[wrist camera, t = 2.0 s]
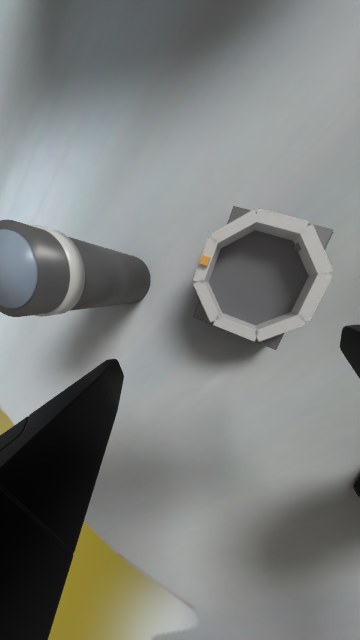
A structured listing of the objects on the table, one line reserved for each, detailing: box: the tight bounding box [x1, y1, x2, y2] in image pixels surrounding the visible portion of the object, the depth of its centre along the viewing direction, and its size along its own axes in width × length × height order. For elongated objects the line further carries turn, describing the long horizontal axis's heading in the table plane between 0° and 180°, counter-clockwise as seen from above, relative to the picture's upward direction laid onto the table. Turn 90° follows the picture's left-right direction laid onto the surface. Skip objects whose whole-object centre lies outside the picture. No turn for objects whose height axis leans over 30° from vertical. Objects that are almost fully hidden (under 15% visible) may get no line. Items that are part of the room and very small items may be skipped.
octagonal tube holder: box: [193, 206, 333, 350], centre depth 16 cm, size 9×8×5 cm
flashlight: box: [0, 220, 150, 317], centre depth 17 cm, size 5×5×12 cm
